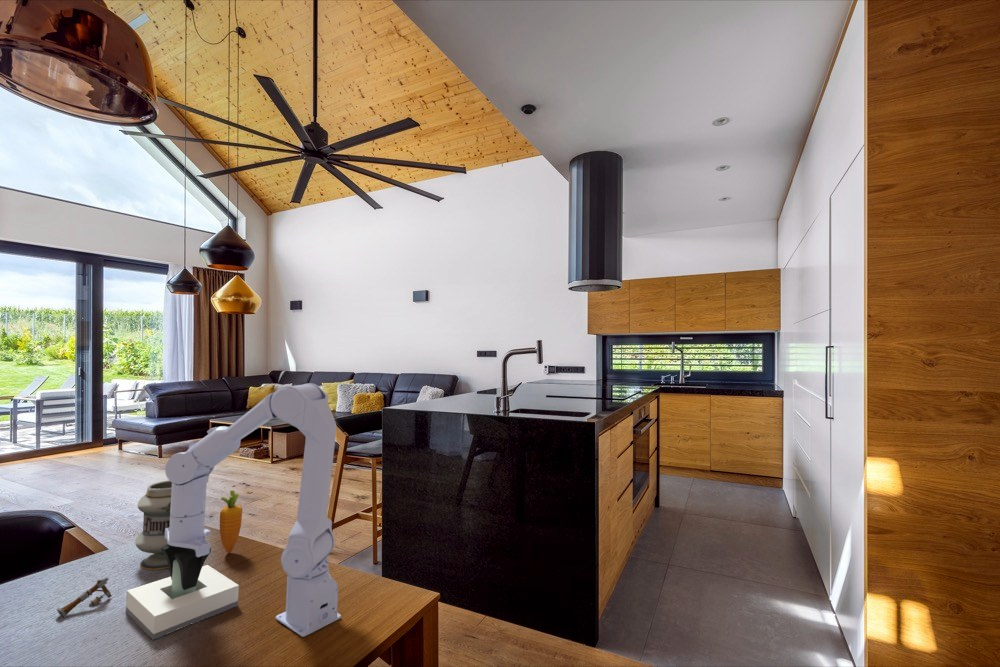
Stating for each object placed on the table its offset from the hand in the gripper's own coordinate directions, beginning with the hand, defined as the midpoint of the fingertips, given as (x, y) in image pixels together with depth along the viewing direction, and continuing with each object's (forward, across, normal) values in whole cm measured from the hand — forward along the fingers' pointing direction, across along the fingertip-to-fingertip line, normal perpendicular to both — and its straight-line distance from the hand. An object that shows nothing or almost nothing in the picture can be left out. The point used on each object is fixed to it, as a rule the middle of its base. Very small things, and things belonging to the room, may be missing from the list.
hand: (184, 584), depth 90 cm
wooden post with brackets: (+5, +15, +11) cm, 19 cm away
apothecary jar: (+5, +26, -7) cm, 27 cm away
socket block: (+5, 0, 0) cm, 5 cm away
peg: (+2, 0, 0) cm, 2 cm away
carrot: (+5, +18, -18) cm, 26 cm away
